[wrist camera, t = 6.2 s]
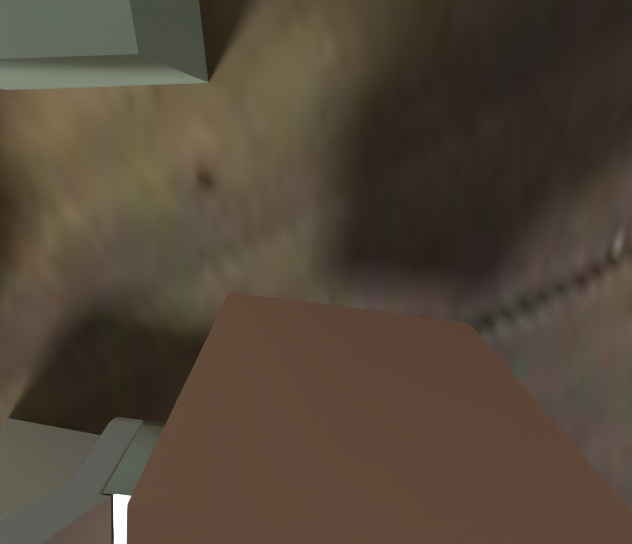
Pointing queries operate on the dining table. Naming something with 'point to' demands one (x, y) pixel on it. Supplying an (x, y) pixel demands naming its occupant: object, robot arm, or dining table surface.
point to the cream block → (37, 461)
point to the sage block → (100, 43)
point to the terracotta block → (362, 440)
